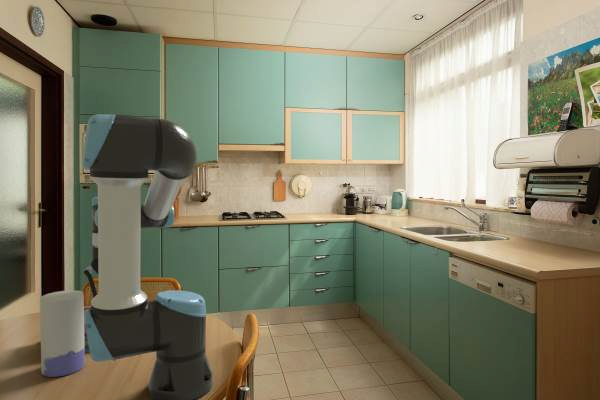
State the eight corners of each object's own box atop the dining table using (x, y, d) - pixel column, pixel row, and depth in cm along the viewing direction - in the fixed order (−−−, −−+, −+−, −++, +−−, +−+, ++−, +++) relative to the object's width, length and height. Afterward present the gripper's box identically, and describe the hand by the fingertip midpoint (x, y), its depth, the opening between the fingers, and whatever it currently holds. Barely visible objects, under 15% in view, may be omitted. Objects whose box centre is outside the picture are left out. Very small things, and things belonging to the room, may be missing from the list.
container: (75, 357, 114) (74, 287, 113) (91, 367, 108) (90, 294, 107) (35, 369, 106) (34, 295, 106) (49, 381, 100) (48, 302, 99)
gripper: (125, 242, 133) (126, 312, 134) (81, 245, 126) (82, 319, 127) (130, 245, 126) (130, 318, 128) (83, 248, 119) (84, 326, 120)
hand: (106, 319), depth 127 cm, fingers closed
